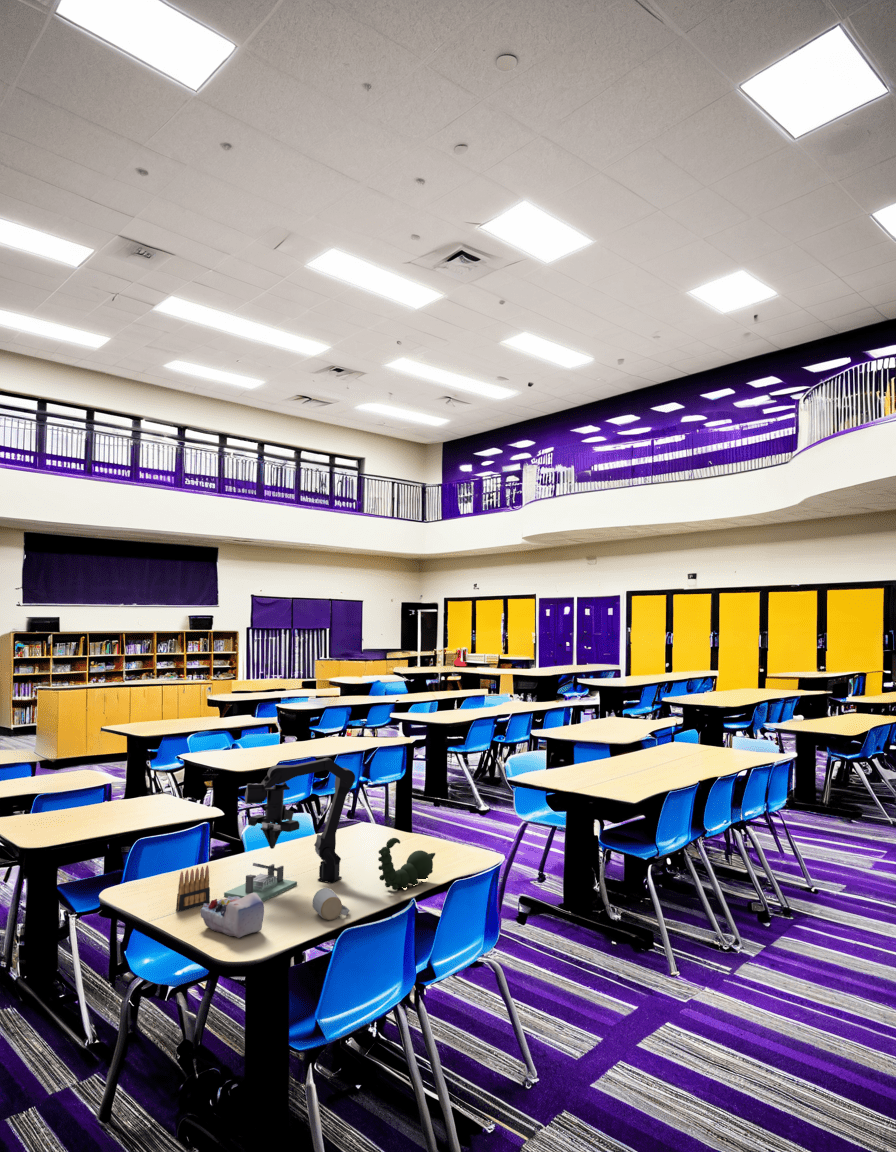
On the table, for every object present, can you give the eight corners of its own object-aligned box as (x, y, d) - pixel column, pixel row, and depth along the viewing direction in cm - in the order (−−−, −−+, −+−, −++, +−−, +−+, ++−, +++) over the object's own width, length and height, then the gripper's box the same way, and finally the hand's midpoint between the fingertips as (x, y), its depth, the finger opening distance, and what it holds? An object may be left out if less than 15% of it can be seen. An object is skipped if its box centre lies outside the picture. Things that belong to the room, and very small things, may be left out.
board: (296, 885, 250) (297, 881, 251) (259, 902, 232) (260, 899, 232) (262, 879, 257) (262, 875, 257) (224, 896, 239) (224, 892, 239)
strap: (272, 870, 253) (273, 867, 253) (279, 871, 251) (279, 868, 252) (251, 865, 243) (252, 862, 243) (258, 866, 241) (259, 863, 242)
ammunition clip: (206, 902, 233) (208, 864, 234) (209, 903, 232) (211, 865, 233) (175, 910, 225) (177, 871, 226) (178, 912, 224) (180, 872, 225)
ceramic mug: (320, 923, 215) (321, 897, 216) (311, 914, 222) (312, 889, 223) (353, 917, 220) (354, 892, 221) (343, 909, 228) (344, 884, 228)
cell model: (237, 904, 201) (195, 891, 213) (236, 944, 199) (194, 929, 211) (274, 891, 211) (232, 880, 223) (273, 929, 210) (231, 916, 222)
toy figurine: (392, 902, 239) (445, 879, 256) (389, 845, 240) (442, 826, 257) (374, 895, 245) (427, 873, 263) (371, 839, 246) (424, 821, 264)
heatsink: (277, 884, 247) (277, 875, 247) (262, 891, 240) (262, 882, 240) (260, 882, 250) (261, 873, 250) (245, 888, 242) (245, 879, 243)
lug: (255, 891, 240) (255, 874, 240) (250, 893, 238) (251, 876, 238) (249, 890, 241) (250, 873, 241) (245, 892, 239) (245, 875, 239)
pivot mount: (283, 880, 252) (283, 865, 252) (278, 882, 249) (278, 867, 250) (272, 878, 254) (272, 864, 254) (267, 880, 251) (267, 866, 252)
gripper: (310, 802, 255) (307, 847, 253) (269, 796, 263) (266, 839, 261) (290, 807, 245) (287, 854, 243) (248, 801, 253) (245, 846, 251)
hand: (272, 848), depth 250 cm, fingers closed
